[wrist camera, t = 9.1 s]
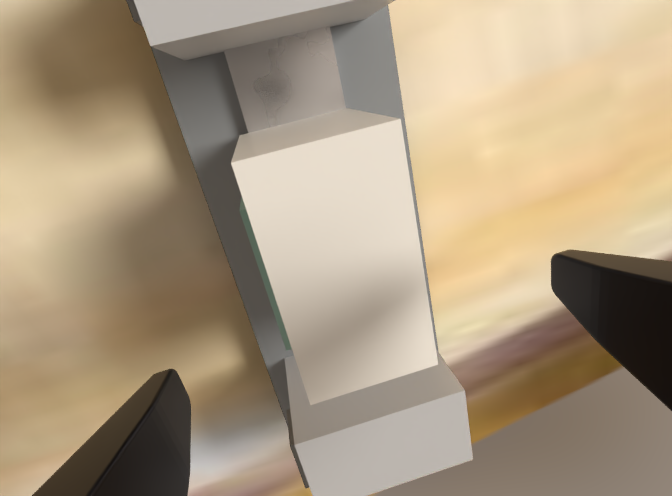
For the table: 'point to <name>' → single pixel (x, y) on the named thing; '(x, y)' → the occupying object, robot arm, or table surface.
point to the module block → (338, 247)
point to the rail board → (224, 203)
